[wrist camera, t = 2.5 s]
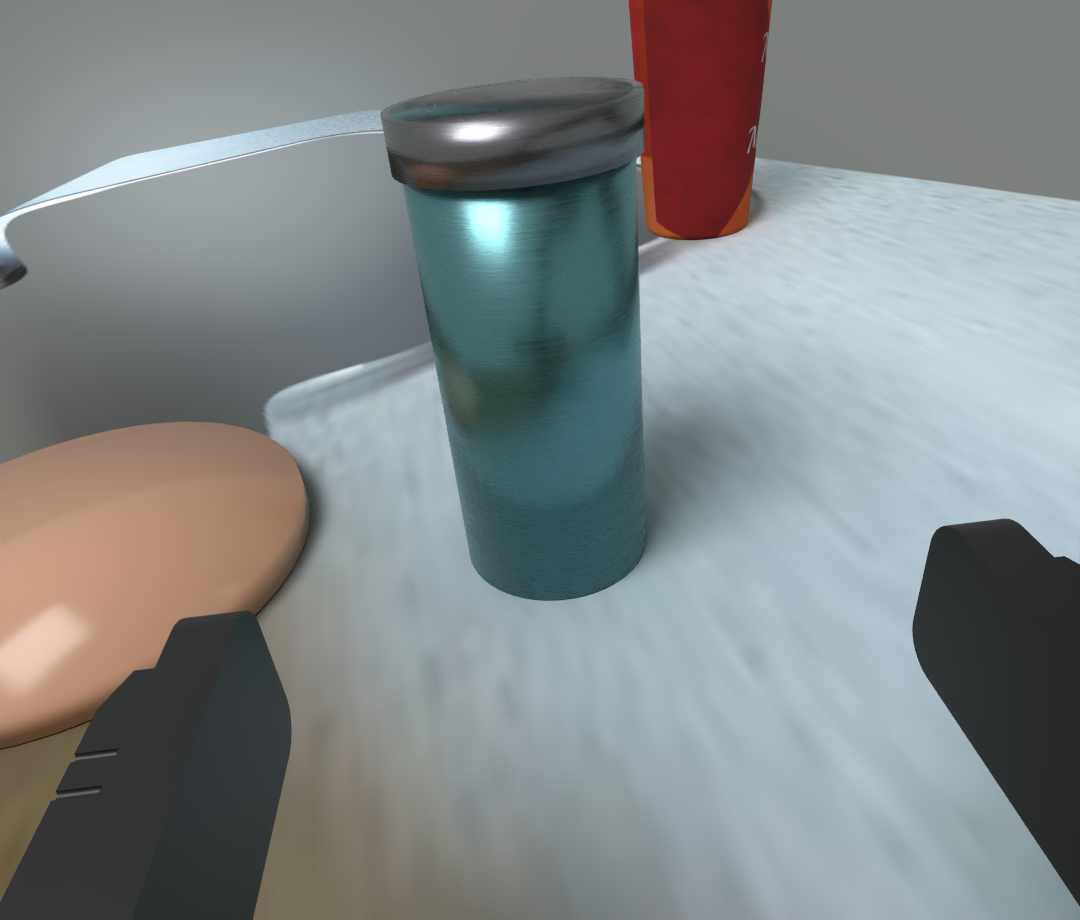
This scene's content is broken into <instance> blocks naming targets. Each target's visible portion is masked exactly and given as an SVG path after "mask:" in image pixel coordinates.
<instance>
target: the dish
mask: <svg viewBox="0 0 1080 920" xmlns="http://www.w3.org/2000/svg"><path fill="white" fill-rule="evenodd" d="M309 523H310V507H309V500H308V496H307V493H306V489H305V486H304V483H303V480H302V477H301V473H300V471H299V469H298V466H297V464H296V462H295V460H294V459H293V458H292V456H291V455H290V454H289V453H288V451H287V450H286V449H285V448H283V447H282V446H281V445H280V444H278V443H277V442H276V441H274V440H272V439H270V438H269V437H267V436H265V435H263V434H260V433H258V432H255V431H252V430H249V429H246V428H242V427H237V426H232V425H227V424H219V423H209V422H173V423H172V422H170V423H157V424H148V425H139V426H133V427H127V428H122V429H116V430H111V431H106V432H102V433H97V434H93V435H88V436H85V437H81V438H77V439H73V440H70V441H66V442H63V443H59V444H56V445H53V446H50V447H47V448H44V449H41V450H38V451H35V452H32V453H29V454H26V455H24V456H21V457H19V458H16V459H13V460H11V461H8V462H5V463H3V464H1V465H0V749H1V748H6V747H11V746H15V745H19V744H22V743H25V742H29V741H32V740H35V739H38V738H42V737H45V736H48V735H52V734H55V733H58V732H61V731H63V730H66V729H68V728H71V727H74V726H76V725H79V724H81V723H84V722H87V721H89V720H92V718H93V716H94V714H95V712H96V710H97V709H98V708H99V707H100V706H101V705H102V704H103V703H104V702H105V701H106V700H107V698H108V697H109V696H110V695H111V694H112V693H113V692H114V691H115V690H116V689H117V688H118V687H119V686H120V685H121V684H122V683H123V682H124V681H125V679H126V678H127V677H128V676H129V675H130V674H131V673H132V672H133V671H134V670H142V669H150V668H155V666H156V664H157V662H158V659H159V657H160V655H161V653H162V650H163V648H164V646H165V644H166V641H167V639H168V637H169V635H170V632H171V630H172V628H173V627H174V625H175V624H176V623H177V621H179V620H180V619H183V618H188V617H196V616H205V615H213V614H221V613H229V612H237V611H245V610H247V611H250V612H252V613H253V614H254V616H255V615H256V614H257V613H258V612H259V611H260V610H261V609H262V608H263V606H264V605H265V604H266V603H267V602H268V601H269V600H270V598H271V597H272V596H273V595H274V594H275V593H276V592H277V590H278V589H279V588H280V587H281V585H282V584H283V582H284V581H285V579H286V578H287V576H288V575H289V573H290V572H291V571H292V569H293V568H294V566H295V564H296V562H297V560H298V558H299V556H300V554H301V552H302V550H303V547H304V544H305V541H306V537H307V534H308V531H309Z"/></svg>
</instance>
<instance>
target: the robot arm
mask: <svg viewBox="0 0 1080 920" xmlns="http://www.w3.org/2000/svg"><path fill="white" fill-rule="evenodd" d="M912 631H913V641H914V647H915V651H916V654H917V658H918V660H919V663H920V665H921V667H922V669H923V671H924V673H925V675H926V677H927V678H928V680H929V681H930V683H931V684H932V686H933V687H934V689H935V690H936V692H937V693H938V695H939V696H940V698H941V699H942V701H943V702H944V704H945V705H946V707H947V708H948V710H949V711H950V713H951V714H952V716H953V717H954V719H955V720H956V722H957V723H958V725H959V726H960V728H961V729H962V731H963V732H964V734H965V735H966V737H967V738H968V740H969V741H970V743H971V744H972V745H973V747H974V748H975V750H976V751H977V753H978V754H979V756H980V757H981V759H982V760H983V762H984V763H985V765H986V766H987V768H988V769H989V771H990V772H991V774H992V775H993V777H994V778H995V780H996V781H997V783H998V784H999V786H1000V787H1001V789H1002V790H1003V792H1004V793H1005V795H1006V796H1007V798H1008V799H1009V801H1010V802H1011V804H1012V805H1013V807H1014V808H1015V810H1016V811H1017V813H1018V814H1019V816H1020V817H1021V819H1022V820H1023V822H1024V823H1025V825H1026V826H1027V828H1028V829H1029V831H1030V832H1031V834H1032V835H1033V837H1034V838H1035V840H1036V841H1037V843H1038V844H1039V846H1040V847H1041V849H1042V850H1043V852H1044V853H1045V855H1046V856H1047V858H1048V859H1049V861H1050V862H1051V864H1052V865H1053V867H1054V868H1055V870H1056V871H1057V873H1058V874H1059V876H1060V877H1061V879H1062V880H1063V882H1064V883H1065V885H1066V886H1067V888H1068V889H1069V891H1070V892H1071V894H1072V895H1073V897H1074V898H1075V900H1076V901H1077V903H1078V904H1079V906H1080V564H1078V563H1076V562H1074V561H1072V560H1070V559H1069V558H1067V557H1065V556H1062V557H1053V556H1052V555H1051V554H1050V553H1049V552H1048V551H1047V550H1046V549H1045V548H1044V547H1043V546H1042V545H1041V544H1040V543H1039V542H1038V541H1037V540H1036V539H1035V538H1034V537H1033V536H1032V535H1031V534H1030V533H1029V532H1028V531H1027V530H1026V529H1025V528H1024V527H1022V526H1021V525H1020V524H1019V523H1017V522H1015V521H1014V520H1011V519H997V520H989V521H981V522H973V523H965V524H957V525H948V526H943V527H940V528H939V529H937V530H936V532H935V533H934V535H933V537H932V539H931V543H930V547H929V552H928V556H927V561H926V565H925V570H924V574H923V579H922V583H921V588H920V592H919V597H918V601H917V606H916V610H915V615H914V619H913V630H912ZM290 747H291V716H290V709H289V704H288V701H287V697H286V695H285V692H284V689H283V687H282V684H281V681H280V679H279V676H278V673H277V671H276V668H275V665H274V663H273V660H272V657H271V655H270V652H269V649H268V647H267V644H266V642H265V639H264V636H263V634H262V631H261V628H260V626H259V623H258V621H257V619H256V617H255V616H254V614H253V613H252V612H250V611H247V610H245V611H237V612H229V613H221V614H213V615H205V616H196V617H188V618H183V619H180V620H179V621H177V623H176V624H175V625H174V627H173V628H172V630H171V632H170V635H169V637H168V639H167V641H166V644H165V646H164V648H163V650H162V653H161V655H160V657H159V659H158V662H157V664H156V666H155V668H150V669H142V670H134V671H133V672H132V673H131V674H130V675H129V676H128V677H127V678H126V679H125V681H124V682H123V683H122V684H121V685H120V686H119V687H118V688H117V689H116V690H115V691H114V692H113V693H112V694H111V695H110V696H109V697H108V698H107V700H106V701H105V702H104V703H103V704H102V705H101V706H100V707H99V708H98V709H97V710H96V712H95V714H94V716H93V718H92V720H91V722H90V724H89V726H88V728H87V730H86V732H85V734H84V736H83V738H82V740H81V742H80V744H79V746H78V748H77V750H76V752H75V762H72V763H70V764H69V766H68V768H67V770H66V772H65V774H64V776H63V778H62V780H61V782H60V784H59V786H58V788H57V790H56V792H57V798H56V800H54V801H51V802H50V804H49V806H48V808H47V810H46V812H45V814H44V816H43V818H42V820H41V822H40V824H39V826H38V828H37V830H36V832H35V834H34V836H33V838H32V840H31V842H30V844H29V846H28V848H27V850H26V852H25V854H24V856H23V858H22V860H21V862H20V864H19V866H18V868H17V870H16V872H15V874H14V876H13V878H12V880H11V882H10V884H9V886H8V888H7V890H6V892H5V894H4V896H3V898H2V900H1V902H0V920H253V916H254V912H255V907H256V903H257V898H258V894H259V889H260V885H261V880H262V876H263V871H264V867H265V862H266V858H267V853H268V849H269V844H270V840H271V835H272V831H273V826H274V822H275V817H276V813H277V808H278V804H279V799H280V795H281V790H282V786H283V781H284V777H285V772H286V768H287V763H288V759H289V754H290Z"/></svg>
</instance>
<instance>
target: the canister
mask: <svg viewBox="0 0 1080 920" xmlns="http://www.w3.org/2000/svg"><path fill="white" fill-rule="evenodd" d="M380 115H381V120H382V126H383V131H384V136H385V141H386V147H387V152H388V158H389V163H390V168H391V174H392V177H393V178H394V179H395V180H397V181H398V182H400V183H403V188H404V194H405V199H406V204H407V210H408V216H409V221H410V226H411V232H412V238H413V243H414V249H415V254H416V260H417V265H418V271H419V276H420V282H421V287H422V293H423V298H424V304H425V309H426V315H427V320H428V326H429V331H430V337H431V343H432V348H433V354H434V359H435V365H436V370H437V376H438V381H439V387H440V392H441V398H442V403H443V409H444V414H445V420H446V425H447V431H448V436H449V442H450V447H451V453H452V458H453V464H454V469H455V475H456V480H457V486H458V491H459V497H460V502H461V508H462V513H463V519H464V525H465V530H466V536H467V541H468V547H469V552H470V557H471V561H472V563H473V566H474V568H475V569H476V571H477V572H478V574H479V575H480V576H481V577H482V578H483V579H484V580H485V581H487V582H488V583H489V584H491V585H492V586H494V587H496V588H498V589H499V590H501V591H504V592H506V593H509V594H512V595H515V596H519V597H523V598H529V599H537V600H561V599H570V598H575V597H580V596H585V595H588V594H591V593H594V592H597V591H599V590H602V589H604V588H606V587H608V586H610V585H612V584H614V583H616V582H617V581H619V580H620V579H621V578H623V577H624V576H625V575H627V574H628V573H629V572H630V571H631V570H632V569H633V568H634V566H635V565H636V564H637V563H638V561H639V559H640V558H641V556H642V553H643V551H644V548H645V541H646V537H645V497H644V457H643V417H642V377H641V337H640V296H639V256H638V220H637V219H638V216H637V177H636V158H638V157H639V156H640V155H641V154H642V153H643V152H644V150H645V113H644V86H643V84H642V83H640V82H637V81H634V80H629V79H623V78H613V77H558V78H541V79H528V80H518V81H509V82H500V83H492V84H485V85H477V86H470V87H465V88H458V89H453V90H447V91H443V92H437V93H433V94H428V95H424V96H420V97H416V98H412V99H409V100H405V101H402V102H399V103H397V104H394V105H392V106H390V107H388V108H386V109H384V110H383V111H382V112H381V114H380Z"/></svg>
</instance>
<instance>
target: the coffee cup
mask: <svg viewBox="0 0 1080 920" xmlns="http://www.w3.org/2000/svg"><path fill="white" fill-rule="evenodd" d="M771 7H772V0H629V11H630V25H631V37H632V51H633V64H634V78H635V81H637V82H640V83H642V84H643V86H644V113H645V150H644V152H643V153H642V154H641V155H640V156H641V169H642V181H643V193H644V203H645V213H646V221H647V227H648V230H649V231H650V232H651V233H653V234H655V235H658V236H661V237H665V238H671V239H682V240H698V239H710V238H717V237H722V236H726V235H730V234H733V233H735V232H738V231H740V230H741V229H743V228H744V227H745V225H746V222H747V217H748V211H749V204H750V196H751V189H752V180H753V172H754V163H755V154H756V145H757V136H758V126H759V118H760V109H761V100H762V91H763V81H764V72H765V63H766V53H767V44H768V35H769V25H770V17H771Z"/></svg>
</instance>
